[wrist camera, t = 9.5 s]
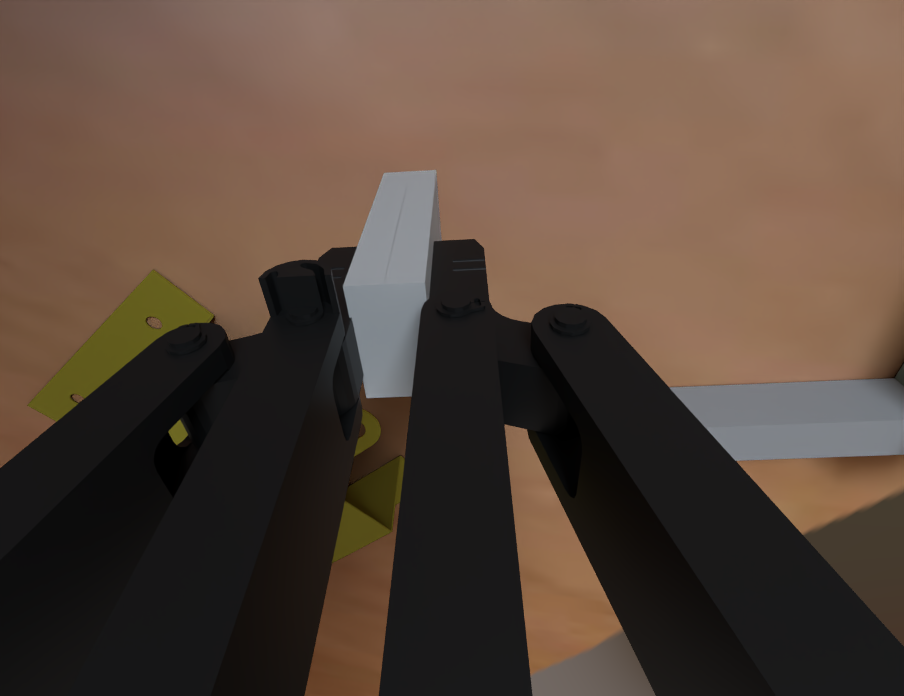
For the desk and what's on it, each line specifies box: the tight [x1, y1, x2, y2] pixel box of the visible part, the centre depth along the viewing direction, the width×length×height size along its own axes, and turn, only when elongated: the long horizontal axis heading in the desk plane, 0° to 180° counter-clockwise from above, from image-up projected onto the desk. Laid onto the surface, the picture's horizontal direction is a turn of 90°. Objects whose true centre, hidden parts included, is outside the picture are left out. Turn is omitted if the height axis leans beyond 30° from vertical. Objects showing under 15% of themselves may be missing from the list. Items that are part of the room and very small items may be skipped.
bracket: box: [27, 270, 405, 563], centre depth 20 cm, size 16×8×15 cm
